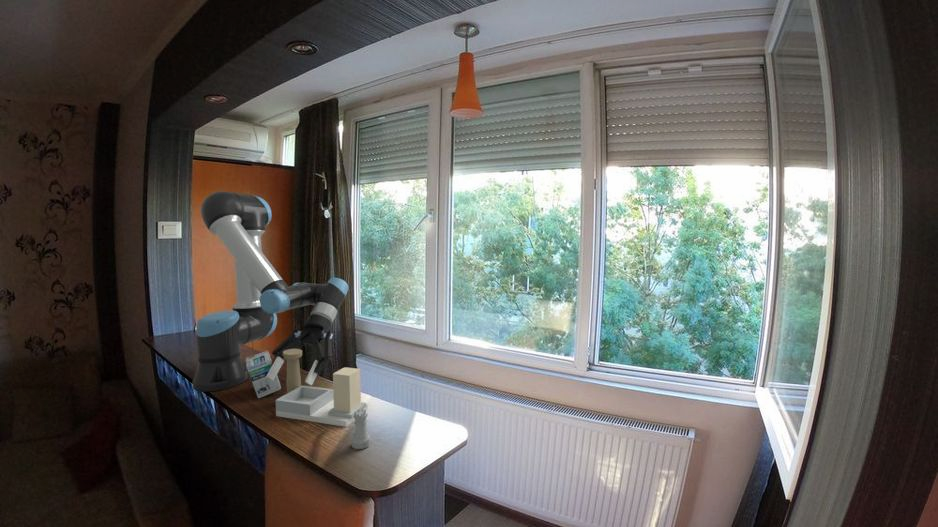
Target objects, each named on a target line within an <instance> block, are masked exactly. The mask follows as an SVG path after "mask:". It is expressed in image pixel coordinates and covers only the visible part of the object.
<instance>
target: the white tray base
mask: <svg viewBox="0 0 938 527" xmlns="http://www.w3.org/2000/svg"><path fill="white" fill-rule="evenodd" d="M332 383H333V384H332V386H333V387H332V388H325V387H316V386H311V385H301V386H300V387H298V388H296V389H295V390H293V391H291V392H289V393H287V392H286V394H284V395H282V396H280V397H279V398H277V399H275V416H276V417H280V418H286V419H292V420H301V421H307V422H311V423H312V422H313V423H317V424H318V423H320V424H324V425H325V424H326V425H333V426H338V427H344V428H345V427H348V426H349V425H351V424H352V423H353V422H355V419H354V418H353V416H354V414H355V411H357V412H358V410H359V409H360V411H362V409H364V410H366V411H367V410H368V403H366V402H362V399H361V398H362V397H361V396H362V395H361V394H362V391H361V388H362V387H361V369H360V368H354V367H346V366H345V367H343V368H340V369H338V370H337V371H335V372H333V374H332Z"/></svg>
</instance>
